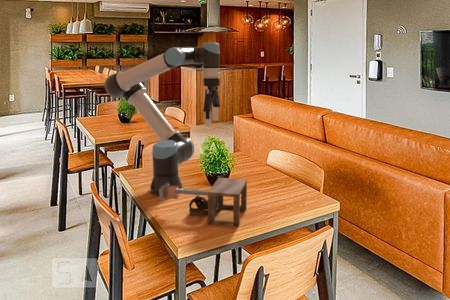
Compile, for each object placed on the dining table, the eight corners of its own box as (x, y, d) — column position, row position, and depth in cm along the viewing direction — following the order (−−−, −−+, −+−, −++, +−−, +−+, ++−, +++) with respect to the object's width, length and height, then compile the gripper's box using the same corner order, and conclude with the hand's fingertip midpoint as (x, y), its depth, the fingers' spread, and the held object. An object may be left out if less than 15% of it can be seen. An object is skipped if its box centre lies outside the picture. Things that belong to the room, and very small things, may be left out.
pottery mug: (217, 216, 172) (210, 203, 167) (197, 228, 171) (189, 215, 166) (208, 199, 182) (201, 186, 177) (189, 210, 181) (181, 197, 176)
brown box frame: (158, 213, 171) (157, 190, 168) (168, 203, 182) (167, 181, 180) (210, 218, 166) (210, 194, 164) (217, 207, 178) (217, 184, 175)
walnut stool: (208, 224, 164) (207, 192, 160) (218, 206, 181) (218, 177, 177) (238, 226, 161) (238, 194, 158) (246, 209, 178) (246, 179, 175)
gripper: (212, 79, 179) (213, 128, 185) (225, 75, 203) (225, 118, 208) (195, 79, 181) (196, 127, 186) (210, 75, 205) (210, 118, 210)
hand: (211, 123), depth 197 cm, fingers open, 13 cm apart
